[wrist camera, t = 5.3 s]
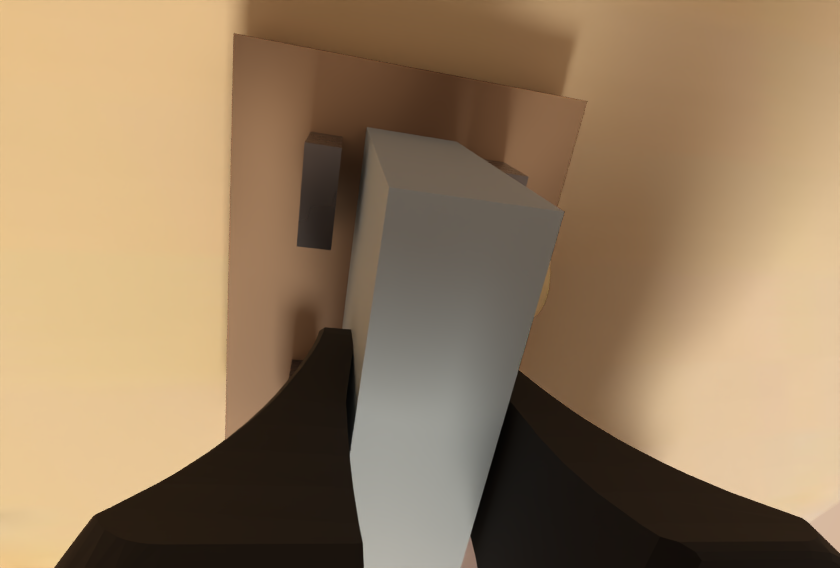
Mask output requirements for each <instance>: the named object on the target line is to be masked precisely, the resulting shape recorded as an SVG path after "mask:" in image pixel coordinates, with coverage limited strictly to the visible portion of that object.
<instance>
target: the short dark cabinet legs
mask: <svg viewBox="0 0 840 568" xmlns="http://www.w3.org/2000/svg"><path fill="white" fill-rule="evenodd" d="M341 152H342V136H336V135H330V134H324V133H318V132H310V133H309V135H308V137H307V139H306V141H305V144H304V157H303V170H302V183H301V196H300V209H299V221H298V234H297V247H306V248H315V249H324V250H331V246H332V236H333V227H334V217H335V208H336V199H337V189H338V180H339V170H340V161H341ZM484 160H486V161H487V162H489V163H490V164H492V165H493V166H495V167H496V168H498V169H499V170H501V171H503V172H504V173H506V174H507V175H509V176H510V177H512V178H513V179H515V180H516V181H518V182H519V183H521V184H523V185H524V186H526V185H527V182H528V178H529V177H528V176H527V175H525V174H523V173H521V172H520V171H518V170H516V169H515V168H513V167H511V166H510V165H508V164H506V163H504V162H500V161H494V160H487V159H484ZM302 361H303V360H293V359H292V363H291V369H290V374H289V378H290V377H291V376H292V375H293V374H294V372H295V371H296V370H297V368H298V367H299V365H300V364H301V363H302ZM288 380H289V379H288Z"/></svg>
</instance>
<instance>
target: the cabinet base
mask: <svg viewBox="0 0 840 568" xmlns="http://www.w3.org/2000/svg"><path fill="white" fill-rule="evenodd" d="M586 104H587V101H583V100H578V99H573V98H568V97H562V96H557V95H552V94H547V93H542V92H536V91H531V90H526V89H521V88H515V87H510V86H505V85H500V84H495V83H489V82H484V81H479V80H474V79H469V78H463V77H458V76H453V75H448V74H443V73H437V72H432V71H427V70H422V69H416V68H411V67H406V66H401V65H396V64H390V63H385V62H380V61H375V60H370V59H364V58H359V57H354V56H349V55H344V54H338V53H333V52H328V51H323V50H317V49H312V48H307V47H302V46H297V45H291V44H286V43H281V42H276V41H271V40H265V39H260V38H255V37H250V36H245V35H239V34H234V42H233V90H232V138H231V186H230V234H229V282H228V329H227V377H226V425H225V439H227V438H228V437H229V436H230V435H232V434H233V433H234V432H235V431H237V430H238V429H239V428H240V427H242V426H243V425H244V424H245V423H246V422H248V421H249V420H250V419H251V418H252V417H253V416H254V415H255V414H256V413H257V412H259V411H260V410H261V409H262V408H263V407H264V406H265V405H266V404H267V403H268V402H269V401H270V400H271V399H272V398H273V397H274V396H275V394H276V393H277V392H278V391H279V390H280V389H281V388H282V386H283V385H284V384H285V383H286V382H287V381H288V379H289V374H290V369H291V363H292V359H293V360H304V358H305V357H306V356H307V354H308V353H309V351H310V349H311V348H312V346H313V344H314V342H315V340H316V338H317V336H318V333H319V331H320V330H321V329H323V328H324V327H328V328H340V329H342V325H343V317H344V309H345V301H346V292H347V284H348V276H349V268H350V260H351V252H352V243H353V235H354V227H355V219H356V211H357V203H358V195H359V186H360V178H361V170H362V162H363V154H364V146H365V138H366V129H367V127H370V128H376V129H382V130H388V131H394V132H401V133H407V134H413V135H419V136H425V137H431V138H437V139H443V140H450V141H456V142H458V143H459V144H461V145H463V146H464V147H466V148H467V149H469V150H470V151H472V152H473V153H475V154H476V155H478V156H479V157H481V158H483V159H487V160H494V161H500V162H504V163H506V164H508V165H510V166H511V167H513V168H515V169H516V170H518V171H520V172H521V173H523V174H525V175H527V176H528V177H529V178H528V182H527V185H526V187H527V188H529V189H530V190H532V191H533V192H535V193H536V194H538V195H539V196H541V197H542V198H544V199H546V200H547V201H549V202H550V203H552V204H553V205H555V206H556V207H557V206H558V202H559V199H560V195H561V192H562V188H563V185H564V181H565V178H566V174H567V171H568V167H569V164H570V160H571V157H572V153H573V150H574V146H575V143H576V139H577V136H578V132H579V129H580V125H581V122H582V118H583V115H584V111H585V108H586ZM310 132H318V133H324V134H330V135H336V136H342V152H341V161H340V170H339V180H338V189H337V199H336V208H335V217H334V227H333V236H332V246H331V250H324V249H315V248H306V247H297V234H298V221H299V209H300V196H301V183H302V170H303V157H304V144H305V141H306V139H307V137H308V135H309V133H310Z"/></svg>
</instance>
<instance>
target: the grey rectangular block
mask: <svg viewBox="0 0 840 568" xmlns="http://www.w3.org/2000/svg"><path fill="white" fill-rule="evenodd" d="M563 216H564V211H562V210H561V209H559V208H558V207H556V206H555V205H553V204H552V203H550V202H549V201H547V200H546V199H544V198H542V197H541V196H539V195H538V194H536V193H535V192H533V191H532V190H530V189H529V188H527V187H526V186H524V185H523V184H521V183H519V182H518V181H516V180H515V179H513V178H512V177H510V176H509V175H507V174H506V173H504V172H503V171H501V170H499V169H498V168H496V167H495V166H493V165H492V164H490V163H489V162H487V161H486V160H484V159H483V158H481V157H479V156H478V155H476V154H475V153H473V152H472V151H470V150H469V149H467V148H466V147H464V146H463V145H461V144H459V143H458V142H456V141H450V140H443V139H437V138H431V137H425V136H419V135H413V134H407V133H401V132H394V131H388V130H382V129H376V128H370V127H367V129H366V138H365V146H364V154H363V162H362V170H361V178H360V186H359V195H358V203H357V211H356V219H355V227H354V235H353V243H352V252H351V260H350V268H349V276H348V284H347V292H346V301H345V309H344V317H343V325H342V329H351V333H352V339H353V353H352V360H351V367H350V375H349V382H348V390H347V397H346V410H347V428H348V441H349V453H350V463H351V472H352V481H353V489H354V495H355V502H356V508H357V514H358V521H359V526H360V531H361V536H362V541H363V557H364V568H461V565H462V562H463V558H464V555H465V551H466V548H467V545H468V541H469V538H470V534H471V531H472V527H473V524H474V521H475V517H476V514H477V510H478V507H479V503H480V500H481V497H482V493H483V490H484V486H485V483H486V479H487V476H488V473H489V469H490V466H491V462H492V459H493V455H494V452H495V449H496V445H497V442H498V438H499V435H500V431H501V428H502V425H503V421H504V418H505V414H506V411H507V407H508V404H509V401H510V397H511V394H512V390H513V387H514V383H515V380H516V377H517V373H518V370H519V366H520V363H521V359H522V356H523V353H524V349H525V346H526V342H527V339H528V335H529V332H530V329H531V325H532V322H533V318H534V316H536V315H537V314H538V313H539V312H540V311H541V309H542V308H543V306H544V304H545V301H546V298H547V295H548V291H549V286H550V275H551V270H550V260H551V257H552V253H553V250H554V246H555V243H556V240H557V236H558V233H559V229H560V226H561V222H562V219H563Z"/></svg>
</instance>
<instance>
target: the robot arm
mask: <svg viewBox="0 0 840 568" xmlns="http://www.w3.org/2000/svg"><path fill="white" fill-rule="evenodd" d="M352 353H353V339H352V333H351V329H340V328H328V327H324V328H323V329H321V330H320V331H319V333H318V336H317V338H316V340H315V342H314V344H313V346H312V348H311V349H310V351H309V353H308V354H307V356H306V357H305V358H304V360H303V361H302V363H301V364H300V365H299V367H298V368H297V370H296V371H295V372H294V374H293V375H292V376H291V377H290V378H289V380H288V381H287V382H286V383H285V384H284V385H283V386H282V388H281V389H280V390H279V391H278V392H277V393H276V394H275V396H274V397H273V398H272V399H271V400H270V401H269V402H268V403H267V404H266V405H265V406H264V407H263V408H262V409H261V410H260V411H259V412H257V413H256V414H255V415H254V416H253V417H252V418H251V419H250V420H249V421H248V422H246V423H245V424H244V425H243V426H242V427H240V428H239V429H238V430H237V431H235V432H234V433H233V434H232V435H230V436H229V437H228V438H227V439H225V440H224V441H223V442H222V443H220V444H219V445H217V446H216V447H215V448H213V449H212V450H211V451H209V452H208V453H206V454H205V455H203V456H202V457H200V458H199V459H197V460H195V461H194V462H192V463H191V464H189V465H188V466H186V467H185V468H183V469H182V470H180V471H178V472H177V473H175V474H173V475H172V476H170V477H168V478H166V479H165V480H163V481H161V482H159V483H157V484H156V485H154V486H152V487H150V488H148V489H146V490H144V491H142V492H140V493H138V494H136V495H134V496H132V497H130V498H128V499H126V500H124V501H122V502H120V503H118V504H116V505H114V506H112V507H111V508H108V509H106V510H104V511H102V512H100V513H98V514H96V515H94V516H93V517H92V519H91V520H90V521H89V522H88V524H87V525H86V526H85V528H84V529H83V530H82V532H81V533H80V534H79V535H78V537H77V538H76V539H75V541H74V542H73V543H72V545H71V546H70V547H69V549H68V550H67V551H66V553H65V554H64V555H63V557H62V558H61V559H60V561H59V562H58V563H57V565H56V566H55V567H54V568H364V557H363V541H362V536H361V531H360V526H359V521H358V514H357V508H356V502H355V495H354V489H353V481H352V472H351V463H350V453H349V441H348V428H347V410H346V397H347V390H348V382H349V375H350V367H351V360H352ZM461 568H840V553H839V552H838V551H837V550H836V549H835V548H833V546H832V545H830V543H828V541H827V540H825V539H824V538H823V537H822V536H821V535H820V534H819V533H818V532H817V531H816V530H815V529H814V528H813V527H812V526H811V525H810V524H809V523H808V522H807V521H805V520H804V519H803V518H800V517H797V516H795V515H792V514H789V513H786V512H783V511H781V510H778V509H775V508H772V507H769V506H767V505H764V504H761V503H758V502H756V501H753V500H750V499H747V498H744V497H742V496H739V495H736V494H733V493H731V492H728V491H726V490H723V489H721V488H719V487H716V486H714V485H712V484H709V483H707V482H704V481H702V480H700V479H697V478H695V477H693V476H690V475H688V474H686V473H684V472H682V471H679V470H677V469H675V468H673V467H671V466H669V465H666V464H664V463H662V462H660V461H658V460H656V459H654V458H652V457H651V456H649V455H647V454H645V453H643V452H641V451H639V450H637V449H635V448H633V447H631V446H629V445H627V444H626V443H624V442H622V441H620V440H618V439H617V438H615V437H613V436H612V435H610V434H608V433H607V432H605V431H603V430H602V429H600V428H598V427H597V426H595V425H593V424H592V423H590V422H588V421H587V420H585V419H584V418H582V417H581V416H579V415H578V414H576V413H575V412H573V411H572V410H570V409H569V408H568V407H566V406H565V405H563V404H562V403H561V402H559V401H558V400H556V399H555V398H554V397H552V396H551V395H550V394H548V393H547V392H546V391H544V390H543V389H542V388H540V387H539V386H538V385H537V384H535V383H534V382H533V381H531V380H530V379H529V378H528V377H526V376H525V375H524V374H523V373H521V372H520V371H519V370H518V373H517V377H516V380H515V383H514V387H513V390H512V394H511V397H510V401H509V404H508V407H507V411H506V414H505V418H504V421H503V425H502V428H501V431H500V435H499V438H498V442H497V445H496V449H495V452H494V455H493V459H492V462H491V466H490V469H489V473H488V476H487V479H486V483H485V486H484V490H483V493H482V497H481V500H480V503H479V507H478V510H477V514H476V517H475V521H474V524H473V527H472V531H471V534H470V538H469V541H468V545H467V548H466V551H465V555H464V558H463V562H462V565H461Z"/></svg>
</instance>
